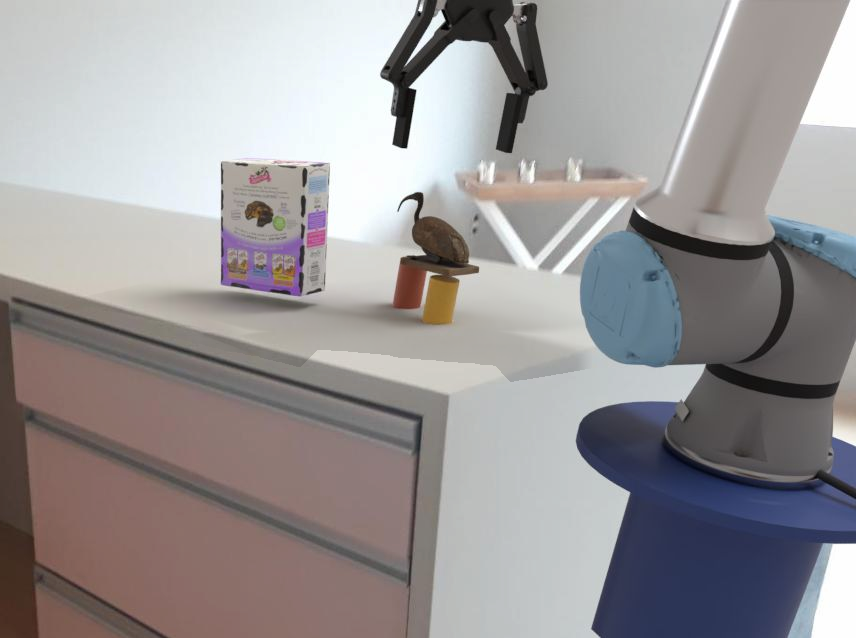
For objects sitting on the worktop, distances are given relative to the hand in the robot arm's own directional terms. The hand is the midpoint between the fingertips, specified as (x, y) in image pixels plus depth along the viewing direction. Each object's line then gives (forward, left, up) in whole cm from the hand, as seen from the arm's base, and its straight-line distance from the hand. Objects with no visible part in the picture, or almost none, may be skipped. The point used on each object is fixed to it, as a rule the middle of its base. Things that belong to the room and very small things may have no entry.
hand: (452, 149), depth 138 cm
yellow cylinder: (-4, 0, -22) cm, 22 cm away
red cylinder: (+5, 0, -22) cm, 22 cm away
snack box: (+13, +16, -21) cm, 29 cm away
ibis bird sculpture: (0, 0, -14) cm, 14 cm away
